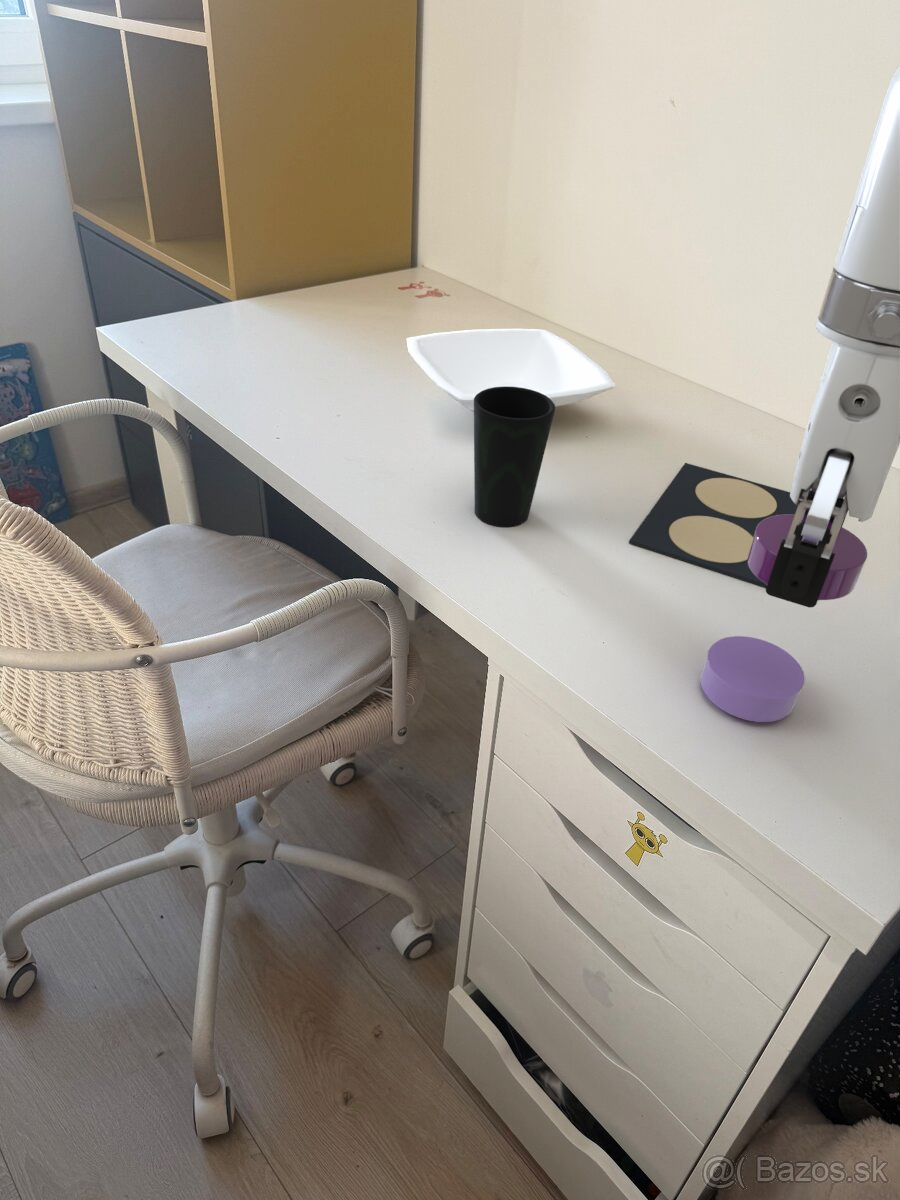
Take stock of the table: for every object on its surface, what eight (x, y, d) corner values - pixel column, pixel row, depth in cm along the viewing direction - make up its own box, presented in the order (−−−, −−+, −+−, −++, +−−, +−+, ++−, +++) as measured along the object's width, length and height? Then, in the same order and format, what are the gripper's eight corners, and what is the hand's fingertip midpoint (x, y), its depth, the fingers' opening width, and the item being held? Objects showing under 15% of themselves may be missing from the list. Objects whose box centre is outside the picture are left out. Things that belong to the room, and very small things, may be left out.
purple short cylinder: (858, 568, 59) (873, 532, 57) (845, 620, 54) (861, 582, 52) (756, 539, 62) (767, 504, 60) (734, 586, 56) (745, 549, 55)
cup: (541, 535, 82) (558, 422, 74) (464, 530, 81) (474, 416, 74) (536, 496, 88) (551, 388, 81) (464, 491, 88) (473, 383, 80)
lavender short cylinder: (799, 685, 66) (812, 656, 64) (782, 741, 61) (795, 712, 59) (710, 653, 69) (720, 625, 67) (687, 704, 63) (696, 675, 62)
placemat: (808, 500, 91) (809, 496, 91) (772, 590, 77) (774, 585, 76) (684, 465, 96) (685, 461, 96) (628, 543, 82) (629, 539, 81)
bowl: (542, 364, 119) (547, 324, 116) (622, 433, 102) (631, 389, 98) (392, 375, 112) (393, 333, 109) (452, 452, 95) (455, 405, 91)
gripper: (960, 370, 39) (839, 657, 50) (969, 288, 52) (871, 531, 62) (797, 339, 42) (715, 617, 52) (843, 268, 55) (770, 504, 65)
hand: (800, 569), depth 57 cm, fingers closed on purple short cylinder, 7 cm apart
